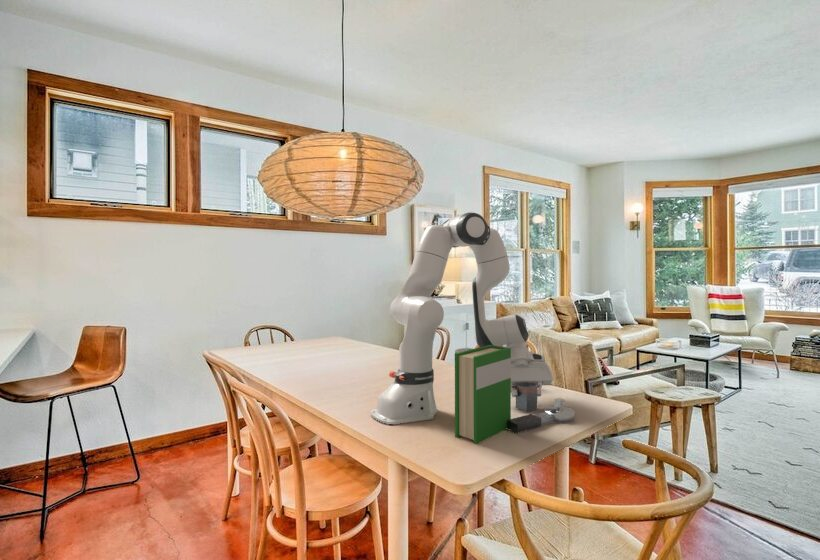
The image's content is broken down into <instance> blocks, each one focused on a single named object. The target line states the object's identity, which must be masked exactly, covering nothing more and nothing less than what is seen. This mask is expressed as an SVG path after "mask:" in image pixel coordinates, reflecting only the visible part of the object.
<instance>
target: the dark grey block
mask: <svg viewBox="0 0 820 560" xmlns="http://www.w3.org/2000/svg"><path fill="white" fill-rule="evenodd" d="M515 390H517V397H515V409H517V410H520V411H522V412H525V413H529V411H530V412H533V410H534V411H537V410H538V396H537V390H538V388H537V386H535V385H532V384H529V383H523V384H518V385H516V387H515ZM536 409H537V410H536Z"/></svg>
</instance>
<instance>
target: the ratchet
mask: <svg viewBox="0 0 820 560" xmlns="http://www.w3.org/2000/svg"><path fill="white" fill-rule="evenodd" d="M564 400H565V399H563V398H559V397H557V398H554V405H549V406H545V407H544V408H543V409H544V411H543V412H540V413H536V414H531V413H529V414H525V415H521V416H518V417H513V418H511V419H510V420H507V429H506V430H509V431H511V432H514V433H515V434H520V433H523V432H527V431H529V430H530V431H531V430H535V429H537V428H541V427H543V426H546V425H551V424H553V423H559V424H568V423H569V422H570V423H572V422H574V421H575V410H574V409H572V408H570V407H567V406H565V401H564ZM570 423H569V424H570Z"/></svg>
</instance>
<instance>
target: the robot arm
mask: <svg viewBox="0 0 820 560" xmlns="http://www.w3.org/2000/svg"><path fill="white" fill-rule="evenodd" d="M460 247H462V248H464V247H469V248H470V249H471V250H472V252H473V254H474V258H475V260H476V261H475V263H476V266H477V267H476V268H477V273H476V277H474V278H473V279H472V283H471V284H472V285H471V286H472V287H471V289H472V292H471V293H472V304H473V306H472V307H473V314H474V315H473V316H474V338H475V339H474V340H475V342H476V344H477V345H478V347H479V348H480V347H484V346H488V345H493V346H500V347H501V346H502V347H507V348H511V398H516V397H517V390H516V389H515V388H512V386H516V385H518V384H523V383H529V384H532V385H535V386H537V397H542V387H543V386H550V385H551V384H552V383H553V380H554V376H553V373H552V371H551V368H550V367H549V364H548V363H547V362H545V361H546V360H545V359H546V357H545V356H544V355H542V354H539V353H535V352H532V351H529V349H528V347H527V346H528V343H527V341H528V339H529V336H530V335H529V332H528V330H527V325H526V323H527V322H526V320H525V319H524V318H523V317H522V316H520V315H518V314H510V315H505V316H503V317H498V318H495V319H490V320H488V319H486V309H485V308H486V307H485V306H486V305H485V297H486V295H488V293H489V291H491V290H492V289H494V288H495V287H497V286H498V285H499V284H501V283H502V282H503V281H504V280H505V279H506V278H507V277H508V275H509V273H510V270H511V268H510V267H511V266H510V262H509V261H510V260H509V256H508V253H507V249H506V247H505V244H504V241H503V238H502V237H501V234H500V233H499V231H498V230H496V229H495V228H491V227H490V226H489V225H488V223H487V221H486V219H485V218H484V217H483V216H482V215H481V214H479V213H476V212H465V213H462V214H457V215H455V216H453V217H451V218H449V219H446V220H445V221H444V222H443V223H442V224H431V225H429V226H427V227H426V228H425V230H424V232H423V233H422V235H421V237H420V239H419V243H418V244H417V248H416V250H415V255H414V257H413V261H412V263H411V266H410V270H409V274H408V275H407V278H406V280H405V282H404V284H403V285H402V287H401V288H400V291H399V293H398V294H397V296H396V297H395V298H394V299H393V300H392V301H391V303H390V307H389V313H390V315H391V317H392V319H394V321H395V322H397V323H398V324H399V325H401V326H405V331H404V336H403V339H402V341H401V343H400V344H399V346H398V348H399V349H398V351H399V352H398V356H399V357H398V358H399V363H398V365H399V368H398V370H397V372H396V371H394V370H390V371H389V373H388V376H389V377H390V378H393V379H394V381H393V383H391V384H390V385H389V386H388V387H387V388H386V389H385V390H384V391H382V392H381V393H380V394H379V396H378V398H377V405H376V406H377V407H376V408H374V409H371V410H370V413H371V415H370V417H371V418H372V417H373V418H372V419H374V418H375V419H376V420H375V419H374V420H375V421H377V420H378V421H377V422H379V421H380V422H379V423H381V422H383V423H382V424H384V423H386V424H385V425H389V424H393V425H400V423H401V424H407V423H413V422H414V423H415V422H421V421H422V422H423V421H428V420H434V419H435V415H436V414H437V413H438V409H437V403H436V400H435V394H434V381H435V380H434V379H435V377H434V376H435V375H434V372H435V371H434V368H433V347H434V341H435V337H436V333H437V329H438V328H439V327H440V326H441V324H442V323H443V320H444V316H445V314H444V313H445V312H444V308H443V305H441V303H440V302H438V301H437V300H435V299H434V298H432V297H431V296H432V295H433V292H434V291H435V290H436V289H437V288H438V287H439V286H440V285H441V283H442V281H443V277H444V274H445V269H446V266H447V263H448V259H449V255H450V252H451V250H452V249H453V248H460Z"/></svg>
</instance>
